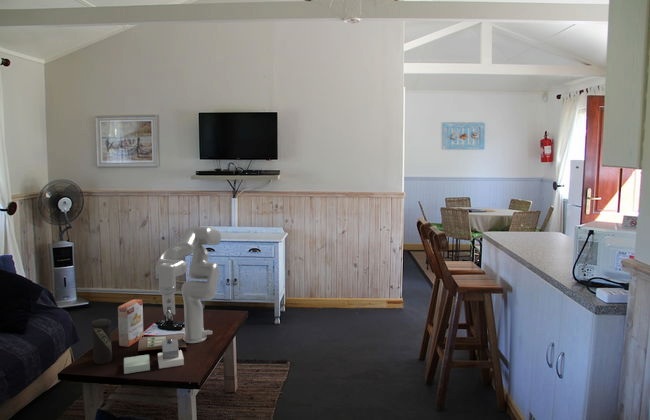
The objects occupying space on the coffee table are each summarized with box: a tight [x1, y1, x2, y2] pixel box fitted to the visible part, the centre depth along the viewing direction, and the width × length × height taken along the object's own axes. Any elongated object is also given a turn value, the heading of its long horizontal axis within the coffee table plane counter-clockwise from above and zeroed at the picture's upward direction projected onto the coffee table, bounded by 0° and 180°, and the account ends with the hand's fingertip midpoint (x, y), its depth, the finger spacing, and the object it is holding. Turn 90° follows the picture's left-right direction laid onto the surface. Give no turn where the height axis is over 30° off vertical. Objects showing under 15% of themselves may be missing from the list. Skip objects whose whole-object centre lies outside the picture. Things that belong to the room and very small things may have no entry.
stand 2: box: [157, 349, 185, 369], centre depth 237 cm, size 11×11×3 cm
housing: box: [161, 338, 179, 359], centre depth 236 cm, size 7×6×8 cm
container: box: [90, 318, 113, 365], centre depth 237 cm, size 9×9×20 cm
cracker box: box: [117, 298, 144, 348], centre depth 260 cm, size 14×6×21 cm, turn 168°
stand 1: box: [123, 354, 151, 375], centre depth 231 cm, size 11×11×3 cm
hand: (169, 325), depth 235 cm, fingers open, 9 cm apart
